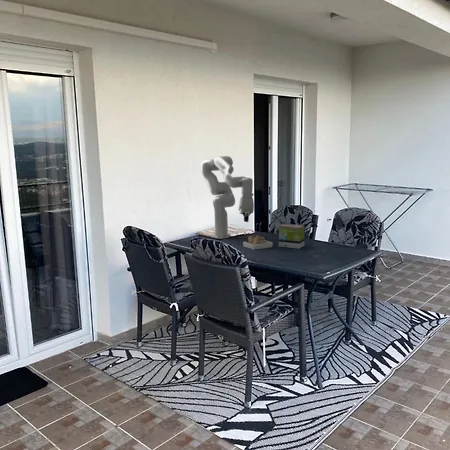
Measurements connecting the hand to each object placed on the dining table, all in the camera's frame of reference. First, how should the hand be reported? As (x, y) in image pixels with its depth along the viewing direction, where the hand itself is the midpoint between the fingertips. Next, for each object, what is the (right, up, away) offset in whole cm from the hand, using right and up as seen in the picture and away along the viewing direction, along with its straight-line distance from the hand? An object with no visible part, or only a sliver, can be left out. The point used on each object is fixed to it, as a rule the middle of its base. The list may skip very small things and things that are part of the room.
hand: (246, 221), depth 329 cm
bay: (+7, -17, -9) cm, 21 cm away
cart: (+7, -17, -9) cm, 20 cm away
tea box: (+30, -17, -11) cm, 37 cm away
